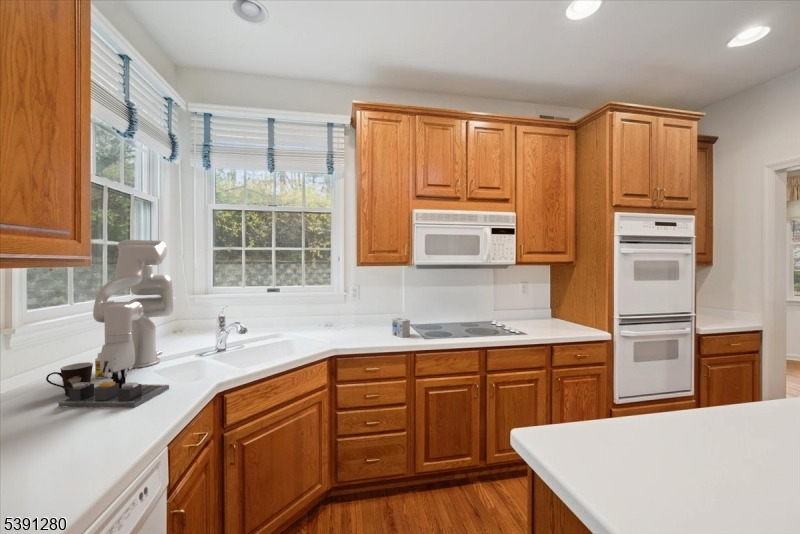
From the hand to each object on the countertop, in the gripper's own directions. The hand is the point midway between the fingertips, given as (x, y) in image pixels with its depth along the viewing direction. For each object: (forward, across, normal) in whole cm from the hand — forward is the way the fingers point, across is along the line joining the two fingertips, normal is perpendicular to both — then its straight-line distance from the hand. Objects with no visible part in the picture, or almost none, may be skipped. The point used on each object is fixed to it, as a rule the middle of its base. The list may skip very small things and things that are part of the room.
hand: (119, 388), depth 118 cm
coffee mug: (+3, -3, -20) cm, 21 cm away
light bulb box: (+3, -98, +101) cm, 141 cm away
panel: (+3, +1, 0) cm, 3 cm away
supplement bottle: (+3, -20, -24) cm, 31 cm away
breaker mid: (+1, +5, 0) cm, 5 cm away
